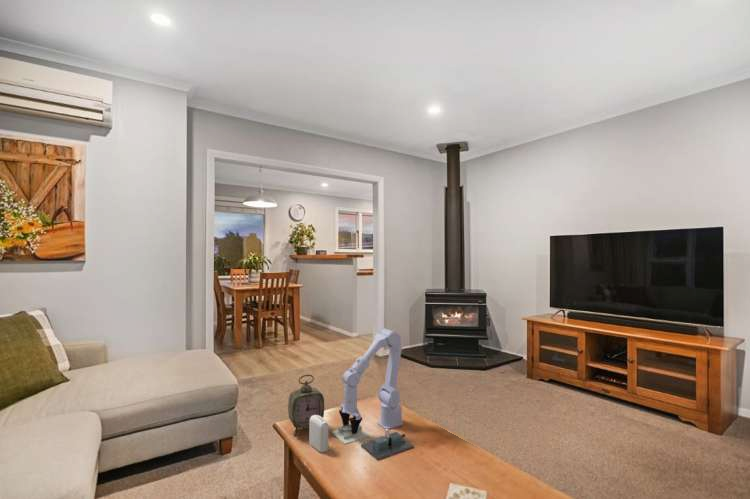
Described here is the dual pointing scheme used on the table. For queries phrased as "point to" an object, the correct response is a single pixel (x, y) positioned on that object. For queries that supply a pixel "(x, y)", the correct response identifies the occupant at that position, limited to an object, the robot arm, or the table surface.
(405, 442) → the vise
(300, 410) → the tabletop clock
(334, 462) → the table surface
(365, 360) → the robot arm
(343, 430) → the gray rectangular frame
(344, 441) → the sage mat
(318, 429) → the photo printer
